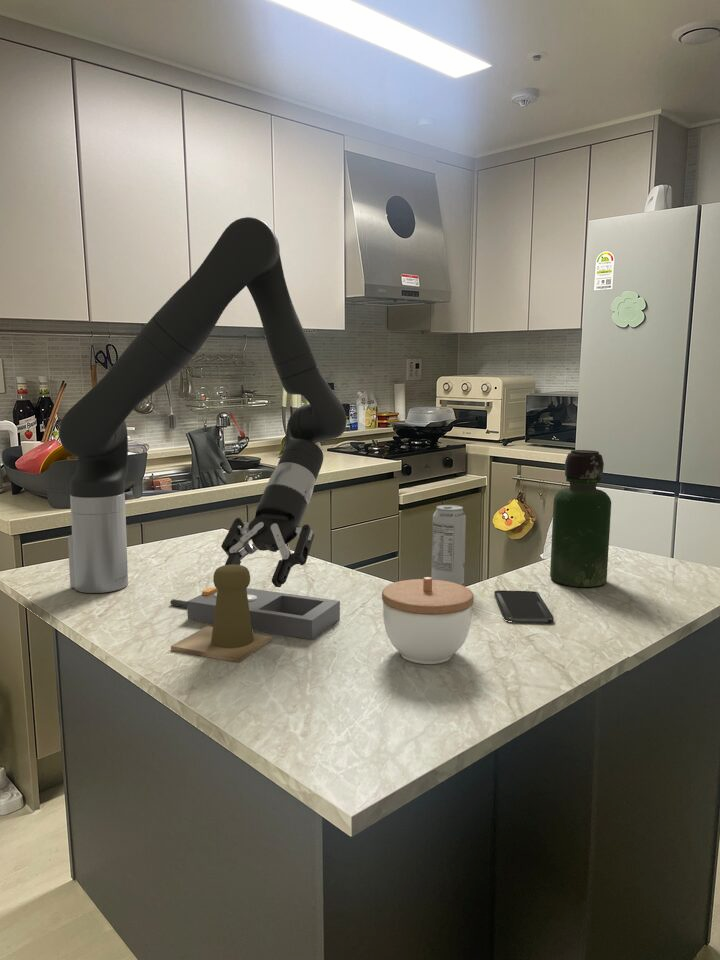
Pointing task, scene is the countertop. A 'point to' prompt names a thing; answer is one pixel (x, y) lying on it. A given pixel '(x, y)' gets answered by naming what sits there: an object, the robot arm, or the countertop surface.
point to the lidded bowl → (427, 618)
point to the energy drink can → (448, 544)
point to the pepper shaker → (232, 608)
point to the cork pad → (203, 646)
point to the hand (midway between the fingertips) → (251, 581)
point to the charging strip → (272, 612)
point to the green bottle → (581, 524)
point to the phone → (523, 607)
